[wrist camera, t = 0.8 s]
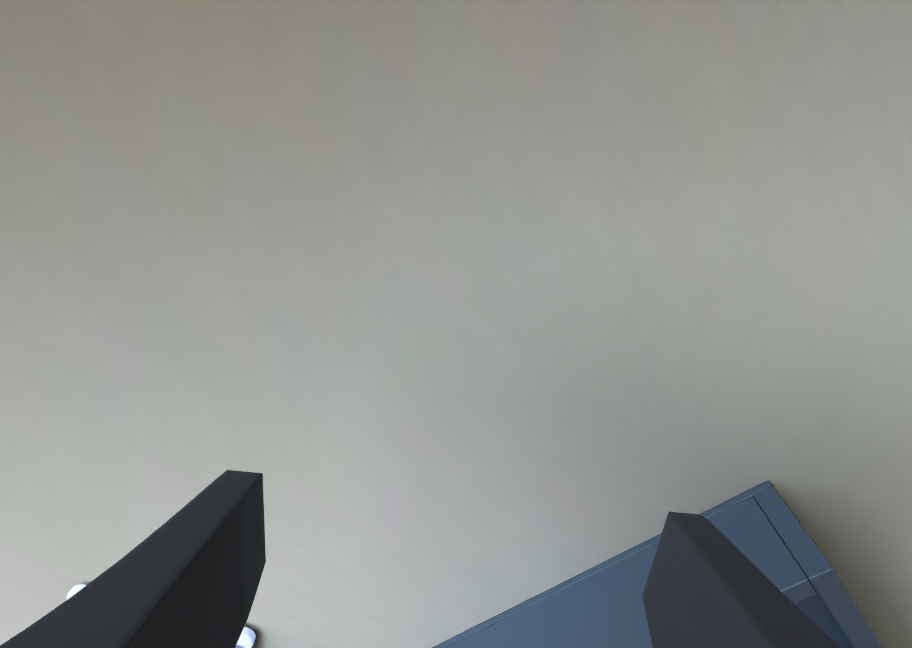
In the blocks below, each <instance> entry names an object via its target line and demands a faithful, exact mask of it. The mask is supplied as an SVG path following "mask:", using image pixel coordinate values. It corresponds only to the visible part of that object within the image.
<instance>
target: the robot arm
mask: <svg viewBox="0 0 912 648" xmlns="http://www.w3.org/2000/svg"><path fill="white" fill-rule="evenodd" d="M265 562H266V560H265V532H264V504H263V476H262V473H252V472H242V471H231V470H227V471H226V472H224V473H223V474H222V475H221V476H219V477H218V478H217V479H216V480H215V481H213V482H212V483H211V484H210V485H209V486H208V487H206V488H205V489H204V490H203V491H202V492H201V493H199V494H198V495H197V496H196V497H195V498H194V499H193V500H191V501H190V502H189V503H188V504H187V505H186V506H184V507H183V508H182V509H181V510H180V511H179V512H177V513H176V514H175V515H174V516H173V517H172V518H170V519H169V520H168V521H167V522H166V523H165V524H163V525H162V526H161V527H160V528H158V529H157V530H156V531H155V532H154V533H152V534H151V535H150V536H149V537H148V538H146V539H145V540H144V541H143V542H141V543H140V544H139V545H138V546H137V547H135V548H134V549H133V550H132V551H130V552H129V553H128V554H127V555H126V556H124V557H123V558H122V559H120V560H119V561H118V562H117V563H115V564H114V565H113V566H111V567H110V568H109V569H107V570H106V571H105V572H103V573H102V574H101V575H100V576H98V577H97V578H96V579H94V580H93V581H92V582H90V583H89V584H88V585H83V584H80V585H75V586H74V587H73V588H72V589H71V590H70V592H69V593H68V595H67V600H66V601H65V602H64V603H62V604H61V605H59V606H58V607H57V608H55V609H54V610H52V611H51V612H49V613H48V614H47V615H45V616H44V617H42V618H41V619H40V620H38V621H37V622H35V623H34V624H32V625H31V626H29V627H28V628H26V629H25V630H23V631H22V632H20V633H19V634H17V635H16V636H14V637H13V638H11V639H10V640H8V641H7V642H5V643H4V644H2V645H1V646H0V648H252V647H253V644H254V641H255V638H256V635H255V633H254V631H253V630H251V629H250V628H247V627H244V626H245V624H246V621H247V619H248V616H249V613H250V610H251V607H252V604H253V601H254V597H255V594H256V591H257V588H258V585H259V581H260V578H261V575H262V572H263V568H264V565H265ZM642 598H643V603H644V608H645V613H646V618H647V624H648V629H649V633H650V637H651V642H652V646H653V648H841V647H840V646H839V645H838V644H837V643H836V642H834V641H833V640H832V639H831V638H830V637H829V636H828V635H827V634H826V633H825V632H824V631H823V630H821V629H820V628H819V627H818V626H817V625H816V624H815V623H814V622H813V621H812V620H811V619H810V618H809V617H807V616H806V615H805V614H804V613H803V612H802V611H801V610H800V609H799V608H798V607H797V606H796V605H795V604H794V603H793V602H792V601H791V600H790V599H789V598H788V597H787V596H786V595H784V594H783V593H782V592H781V591H780V590H779V589H778V588H777V587H776V586H775V585H774V584H773V583H772V582H771V581H770V580H769V579H768V578H767V577H766V576H765V575H764V574H763V573H762V572H761V571H760V570H759V569H758V568H757V567H756V566H755V565H754V564H753V563H752V562H751V561H750V560H749V559H748V558H747V557H746V556H745V555H744V554H743V553H742V552H741V551H740V550H739V549H738V548H737V547H736V546H735V545H734V544H733V543H732V542H731V541H730V540H729V539H728V538H727V537H726V536H725V535H724V534H723V533H721V532H720V531H719V530H718V529H717V528H716V527H715V526H714V525H713V524H712V523H711V522H710V521H709V520H708V519H707V518H706V517H704V516H703V515H698V514H688V513H677V512H669V513H668V516H667V519H666V522H665V525H664V528H663V532H662V535H661V538H660V541H659V544H658V547H657V550H656V553H655V556H654V560H653V563H652V566H651V569H650V572H649V575H648V578H647V581H646V585H645V588H644V591H643V594H642Z"/></svg>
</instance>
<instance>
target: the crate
mask: <svg viewBox="0 0 912 648" xmlns="http://www.w3.org/2000/svg"><path fill="white" fill-rule="evenodd" d="M700 515H703V516H704V517H706V518H707V519H708V520H709V521H710V522H711V523H712V524H713V525H714V526H715V527H716V528H717V529H718V530H719V531H720V532H721V533H723V534H724V535H725V536H726V537H727V538H728V539H729V540H730V541H731V542H732V543H733V544H734V545H735V546H736V547H737V548H738V549H739V550H740V551H741V552H742V553H743V554H744V555H745V556H746V557H747V558H748V559H749V560H750V561H751V562H752V563H753V564H754V565H755V566H756V567H757V568H758V569H759V570H760V571H761V572H762V573H763V574H764V575H765V576H766V577H767V578H768V579H769V580H770V581H771V582H772V583H773V584H774V585H775V586H776V587H777V588H778V589H779V590H780V591H781V592H782V593H783V594H784V595H786V596H787V597H788V598H789V599H790V600H791V601H792V602H793V603H794V604H795V605H796V606H797V607H798V608H799V609H800V610H801V611H802V612H803V613H804V614H805V615H806V616H807V617H809V618H810V619H811V620H812V621H813V622H814V623H815V624H816V625H817V626H818V627H819V628H820V629H821V630H823V631H824V632H825V633H826V634H827V635H828V636H829V637H830V638H831V639H832V640H833V641H834V642H836V643H837V644H838V645H839V646H840V647H841V648H883V646H882V645H881V643H880V642H879V640H878V638H877V637H876V635H875V634H874V632H873V631H872V629H871V627H870V626H869V624H868V623H867V621H866V620H865V618H864V616H863V615H862V613H861V612H860V610H859V609H858V607H857V605H856V604H855V602H854V601H853V599H852V598H851V596H850V594H849V593H848V591H847V590H846V588H845V587H844V585H843V583H842V582H841V580H840V579H839V577H838V576H837V574H836V572H835V571H834V569H833V568H832V566H831V565H830V564H829V562H828V561H827V560H826V558H825V557H824V556H823V554H822V553H821V551H820V550H819V549H818V547H817V546H816V545H815V543H814V542H813V540H812V539H811V538H810V536H809V535H808V534H807V532H806V531H805V530H804V528H803V527H802V525H801V524H800V523H799V521H798V520H797V519H796V517H795V516H794V514H793V513H792V512H791V510H790V509H789V508H788V506H787V505H786V504H785V502H784V501H783V499H782V498H781V497H780V495H779V494H778V493H777V491H776V490H775V488H774V487H773V486H772V484H771V483H770V482H769V481H766V482H764V483H762V484H760V485H758V486H756V487H754V488H752V489H750V490H748V491H746V492H744V493H742V494H740V495H738V496H736V497H734V498H732V499H730V500H728V501H726V502H724V503H722V504H720V505H718V506H716V507H714V508H712V509H710V510H708V511H706V512H704V513H702V514H700ZM661 535H662V534H660V535H658V536H656V537H654V538H652V539H650V540H648V541H646V542H644V543H642V544H640V545H638V546H636V547H634V548H632V549H630V550H628V551H626V552H624V553H622V554H620V555H618V556H616V557H614V558H612V559H610V560H608V561H606V562H604V563H602V564H600V565H598V566H596V567H594V568H592V569H590V570H588V571H586V572H584V573H581V574H579V575H577V576H575V577H573V578H571V579H569V580H567V581H565V582H563V583H561V584H559V585H557V586H555V587H553V588H551V589H549V590H547V591H545V592H543V593H541V594H539V595H537V596H535V597H533V598H531V599H529V600H527V601H525V602H523V603H521V604H519V605H517V606H515V607H513V608H511V609H509V610H507V611H505V612H503V613H501V614H499V615H497V616H495V617H493V618H491V619H489V620H487V621H485V622H483V623H481V624H479V625H477V626H475V627H473V628H471V629H469V630H467V631H465V632H463V633H461V634H459V635H457V636H455V637H453V638H451V639H449V640H447V641H445V642H443V643H441V644H439V645H437V646H435V647H433V648H653V646H652V642H651V637H650V633H649V629H648V624H647V618H646V613H645V608H644V603H643V598H642V594H643V591H644V588H645V585H646V581H647V578H648V575H649V572H650V569H651V566H652V563H653V560H654V556H655V553H656V550H657V547H658V544H659V541H660V538H661Z"/></svg>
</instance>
